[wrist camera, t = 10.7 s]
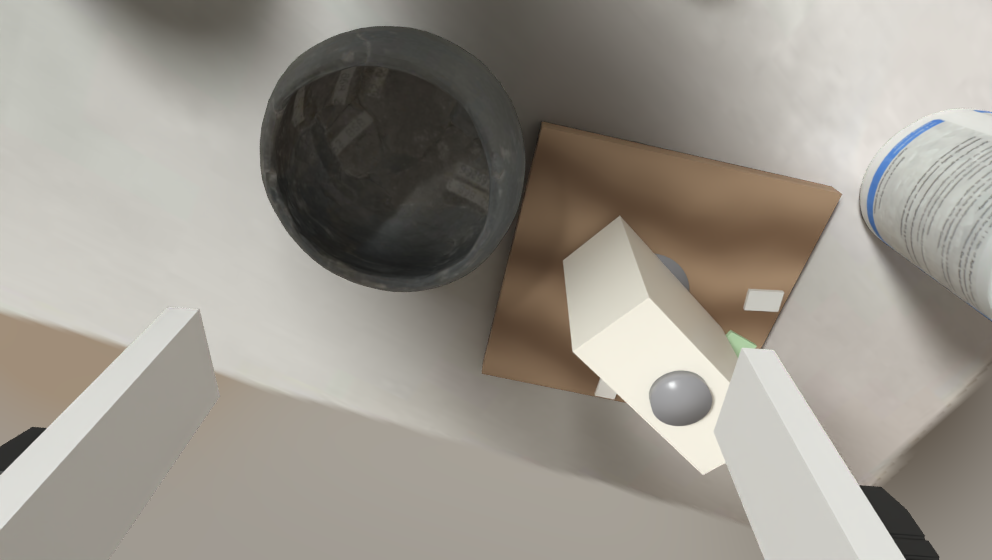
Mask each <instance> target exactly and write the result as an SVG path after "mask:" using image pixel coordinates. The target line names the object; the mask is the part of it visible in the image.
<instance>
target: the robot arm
mask: <svg viewBox="0 0 992 560" xmlns="http://www.w3.org/2000/svg"><path fill="white" fill-rule="evenodd" d="M219 397H220V394H219V390H218V386H217V382H216V377H215V373H214V369H213V365H212V360H211V356H210V352H209V348H208V343H207V339H206V335H205V331H204V326H203V322H202V318H201V314H200V309H192V308H178V307H167V308H166V309H165V310H164V311H163V312H162V313H161V314H160V315H159V316H158V317H157V318H156V319H155V320H154V321H153V322H152V323H151V324H150V325H149V326H148V327H147V328H146V329H145V330H144V331H143V332H142V333H141V334H140V335H139V336H138V337H137V338H136V339H135V340H134V341H133V342H132V343H131V344H130V345H129V346H128V347H127V348H126V349H125V350H124V351H123V352H122V354H121V355H119V357H117V358H116V359H115V360H114V361H113V363H112V364H111V365H109V367H107V369H105V370H104V372H103V373H102V374H101V375H100V376H99V377H98V378H97V379H96V380H95V381H94V382H93V383H92V384H91V385H90V386H89V387H88V388H87V389H86V390H85V391H84V392H83V393H82V394H81V395H80V396H79V397H78V398H77V399H76V400H75V401H74V402H73V403H72V404H71V405H70V406H69V407H68V408H67V409H66V410H65V411H64V412H63V413H62V414H61V415H60V416H59V417H58V418H57V419H56V420H55V421H54V422H53V423H52V424H51V425H50V426H49V427H48V428H39V427H31V428H30V429H28V430H27V431H25V432H23V433H22V434H20V435H18V436H17V437H15V438H13V439H12V440H10V441H8V442H7V443H5V444H3V445H2V446H1V447H0V560H109V559H110V557H111V556H112V554H113V553H114V552H115V550H116V549H117V547H118V546H119V544H120V543H121V541H122V540H123V538H124V537H125V535H126V534H127V532H128V531H129V529H130V528H131V526H132V525H133V524H134V522H135V521H136V519H137V518H138V516H139V515H140V513H141V512H142V510H143V509H144V507H145V506H146V504H147V503H148V501H149V500H150V499H151V497H152V496H153V494H154V493H155V491H156V490H157V488H158V487H159V485H160V484H161V482H162V480H163V479H164V478H165V476H166V475H167V473H168V472H169V470H170V469H171V468H172V466H173V464H174V463H175V462H176V460H177V459H178V457H179V456H180V454H181V453H182V451H183V450H184V448H185V447H186V445H187V444H188V443H189V441H190V439H191V438H192V437H193V435H194V433H195V432H196V430H197V429H198V428H199V426H200V425H201V423H202V422H203V420H204V419H205V417H206V416H207V415H208V413H209V412H210V410H211V408H212V407H213V406H214V404H215V403H216V401H217V400H218V398H219ZM714 434H715V437H716V439H717V442H718V444H719V447H720V449H721V452H722V454H723V457H724V459H725V462H726V464H727V467H728V470H729V472H730V475H731V477H732V480H733V482H734V485H735V487H736V490H737V492H738V495H739V497H740V500H741V502H742V505H743V507H744V510H745V512H746V515H747V517H748V520H749V522H750V525H751V527H752V530H753V532H754V535H755V537H756V540H757V542H758V545H759V547H760V550H761V552H762V555H763V557H764V560H939V556H938V554H937V553H936V551H935V550H934V548H933V547H932V545H931V544H930V543H929V541H926V540H925V538H924V536H925V535H924V534H923V532H922V531H921V530H920V528H919V527H918V525H917V524H916V522H915V521H914V519H913V518H912V516H911V515H910V513H909V512H908V511H907V509H905V508H904V507H903V506H902V505H901V504H900V503H899V502H898V501H896V500H895V499H894V498H893V497H892V496H891V495H890V494H889V493H887V492H886V491H885V490H884V489H883V488H882V487H874V486H861V485H858V483H857V482H856V480H855V478H854V477H853V475H852V474H851V472H850V470H849V469H848V467H847V466H846V464H845V463H844V461H843V459H842V458H841V456H840V455H839V453H838V451H837V450H836V448H835V447H834V445H833V443H832V442H831V440H830V439H829V437H828V436H827V434H826V432H825V431H824V429H823V428H822V426H821V424H820V423H819V421H818V420H817V418H816V416H815V415H814V413H813V412H812V410H811V409H810V407H809V405H808V404H807V402H806V401H805V399H804V397H803V396H802V394H801V393H800V391H799V390H798V388H797V386H796V385H795V383H794V382H793V380H792V378H791V377H790V375H789V374H788V372H787V370H786V369H785V367H784V366H783V364H782V363H781V361H780V359H779V358H778V356H777V355H776V353H775V351H774V350H767V349H753V348H741V351H740V354H739V357H738V360H737V363H736V366H735V369H734V372H733V375H732V378H731V381H730V384H729V387H728V390H727V393H726V396H725V399H724V402H723V405H722V408H721V411H720V414H719V417H718V420H717V423H716V426H715V429H714Z"/></svg>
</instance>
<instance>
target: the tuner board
mask: <svg viewBox="0 0 992 560" xmlns="http://www.w3.org/2000/svg"><path fill="white" fill-rule="evenodd" d="M841 195H842V194H841V193H840V192H839V191H837V190H836V189H834V188H833V187H832V186H827V185H823V184H818V183H814V182H809V181H805V180H800V179H796V178H792V177H787V176H783V175H778V174H774V173H769V172H765V171H760V170H756V169H752V168H747V167H743V166H738V165H734V164H729V163H725V162H720V161H716V160H712V159H707V158H703V157H698V156H694V155H689V154H685V153H680V152H676V151H672V150H667V149H663V148H658V147H654V146H649V145H645V144H640V143H636V142H632V141H627V140H623V139H618V138H614V137H609V136H605V135H600V134H596V133H592V132H587V131H583V130H578V129H574V128H569V127H565V126H560V125H556V124H552V123H547V122H543V121H542V123H541V127H540V131H539V135H538V139H537V144H536V148H535V152H534V156H533V160H532V164H531V168H530V172H529V176H528V180H527V184H526V189H525V193H524V197H523V201H522V205H521V209H520V213H519V217H518V221H517V225H516V229H515V234H514V238H513V242H512V246H511V250H510V254H509V258H508V262H507V266H506V270H505V274H504V278H503V283H502V287H501V291H500V295H499V299H498V303H497V307H496V311H495V315H494V319H493V323H492V328H491V332H490V336H489V340H488V344H487V348H486V352H485V356H484V360H483V366H482V374H486V375H491V376H496V377H501V378H506V379H511V380H516V381H521V382H526V383H531V384H536V385H541V386H546V387H551V388H556V389H561V390H566V391H571V392H576V393H580V394H585V395H590V396H595V391H596V388H597V385H598V383H599V380H600V377H599V376H598V375H597V374H596V373H595V372H594V371H593V370H591V369H590V368H589V367H588V366H587V365H586V364H585V363H584V362H583V361H582V360H581V359H580V358H579V357H578V356H577V355H576V354H575V353H574V352H573V351H572V342H571V332H570V323H569V313H568V304H567V294H566V285H565V276H564V266H563V260H564V259H565V258H567V257H568V256H569V255H570V254H572V253H573V252H574V251H576V250H577V249H578V248H579V247H581V246H582V245H583V244H584V243H586V242H587V241H588V240H589V239H591V238H592V237H593V236H595V235H596V234H597V233H598V232H600V231H601V230H602V229H603V228H605V227H606V226H607V225H608V224H610V223H611V222H612V221H613V220H615V219H616V218H617V217H619V216H621V217H622V219H623V220H624V221H625V222H626V223H627V224H628V225H629V226H630V227H631V228H632V230H633V231H634V232H635V233H636V234H637V235H638V236H639V237H640V238H641V239H642V241H643V242H644V243H645V244H646V245H647V246H648V247H649V248H650V249H651V250H652V252H653V253H654V254H655V255H656V256H657V257H658V258H659V259H660V260H661V262H662V263H663V264H664V265H665V266H666V267H667V268H668V269H669V270H670V271H671V273H672V274H673V275H674V276H675V277H676V278H677V279H678V280H679V281H680V282H681V284H682V285H683V286H684V287H685V288H686V289H687V290H688V291H689V292H690V293H691V295H692V296H693V297H694V298H695V299H696V300H697V301H698V302H699V303H700V305H701V306H702V307H703V308H704V309H705V310H706V311H707V312H708V313H709V314H710V316H711V317H712V318H713V319H714V320H715V321H716V322H717V323H718V324H719V325H720V327H721V328H722V329H723V331H724V333H725V335H726V334H727V333H728V332H729V331H730V330H731V331H733V332H735V333H737V334H739V335H740V336H742V337H744V338H746V339H747V340H749V341H751V342H753V343H755V344H756V346H757V347H756V348H755V349H761V347H762V345H763V343H764V342H765V340H766V338H767V336H768V334H769V332H770V330H771V328H772V326H773V324H774V323H775V321H776V319H777V317H778V315H779V313H780V311H781V309H782V307H783V305H784V304H785V302H786V300H787V298H788V296H789V294H790V292H791V290H792V288H793V286H794V285H795V283H796V281H797V279H798V277H799V275H800V273H801V271H802V269H803V267H804V266H805V264H806V262H807V260H808V258H809V256H810V254H811V252H812V250H813V248H814V247H815V245H816V243H817V241H818V239H819V237H820V235H821V233H822V231H823V229H824V228H825V226H826V224H827V222H828V220H829V218H830V216H831V214H832V212H833V210H834V209H835V207H836V205H837V203H838V201H839V199H840V197H841ZM748 289H763V290H782V291H783V292H784V295H783V298H782V301H781V305H780V308H779V311H778V312H770V311H751V310H744V309H743V306H744V303H745V299H746V296H747V292H748ZM595 397H599V396H595ZM600 398H604V397H600ZM605 399H609V398H605ZM610 400H615V401H620V402H625V401H624V400H623V399H622V398H621V397H620V396H619V395H618V394H616V397H615V399H610ZM625 403H626V402H625Z"/></svg>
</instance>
